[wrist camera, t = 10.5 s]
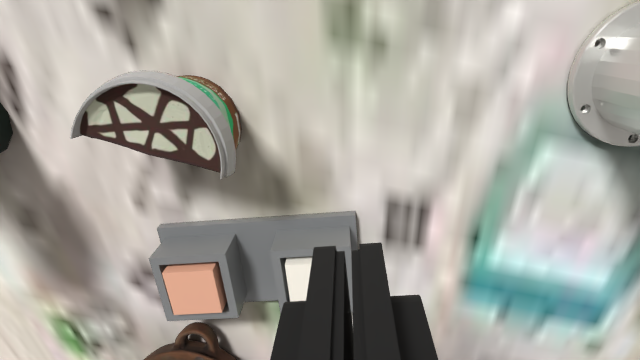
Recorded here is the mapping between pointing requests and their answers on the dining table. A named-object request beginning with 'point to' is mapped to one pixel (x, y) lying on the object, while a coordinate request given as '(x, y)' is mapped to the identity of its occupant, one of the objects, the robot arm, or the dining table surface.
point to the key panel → (251, 254)
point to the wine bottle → (4, 129)
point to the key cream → (298, 276)
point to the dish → (192, 346)
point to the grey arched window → (165, 118)
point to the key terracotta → (195, 288)
